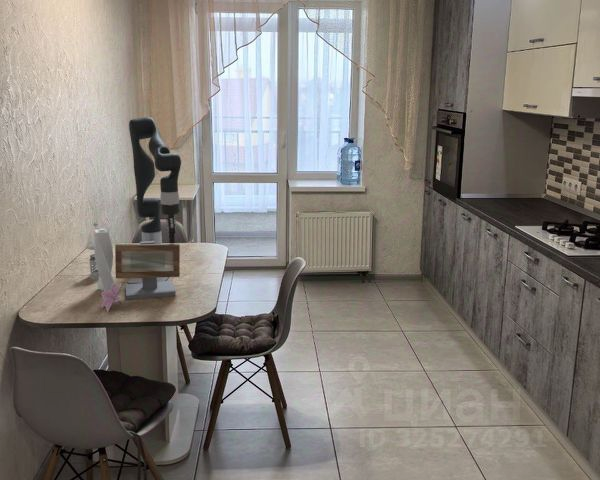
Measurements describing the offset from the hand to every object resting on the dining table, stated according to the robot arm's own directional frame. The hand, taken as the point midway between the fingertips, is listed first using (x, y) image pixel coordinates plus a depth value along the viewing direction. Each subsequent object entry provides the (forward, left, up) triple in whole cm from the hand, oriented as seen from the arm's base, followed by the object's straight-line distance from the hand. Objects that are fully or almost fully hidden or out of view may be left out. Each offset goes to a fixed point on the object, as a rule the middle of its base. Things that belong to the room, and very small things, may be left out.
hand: (172, 242), depth 268 cm
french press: (-33, -31, -22) cm, 50 cm away
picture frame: (0, -11, -14) cm, 18 cm away
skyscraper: (-11, -28, -22) cm, 37 cm away
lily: (+14, -25, -22) cm, 36 cm away
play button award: (-22, -9, -22) cm, 33 cm away
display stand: (-2, -10, -21) cm, 24 cm away
